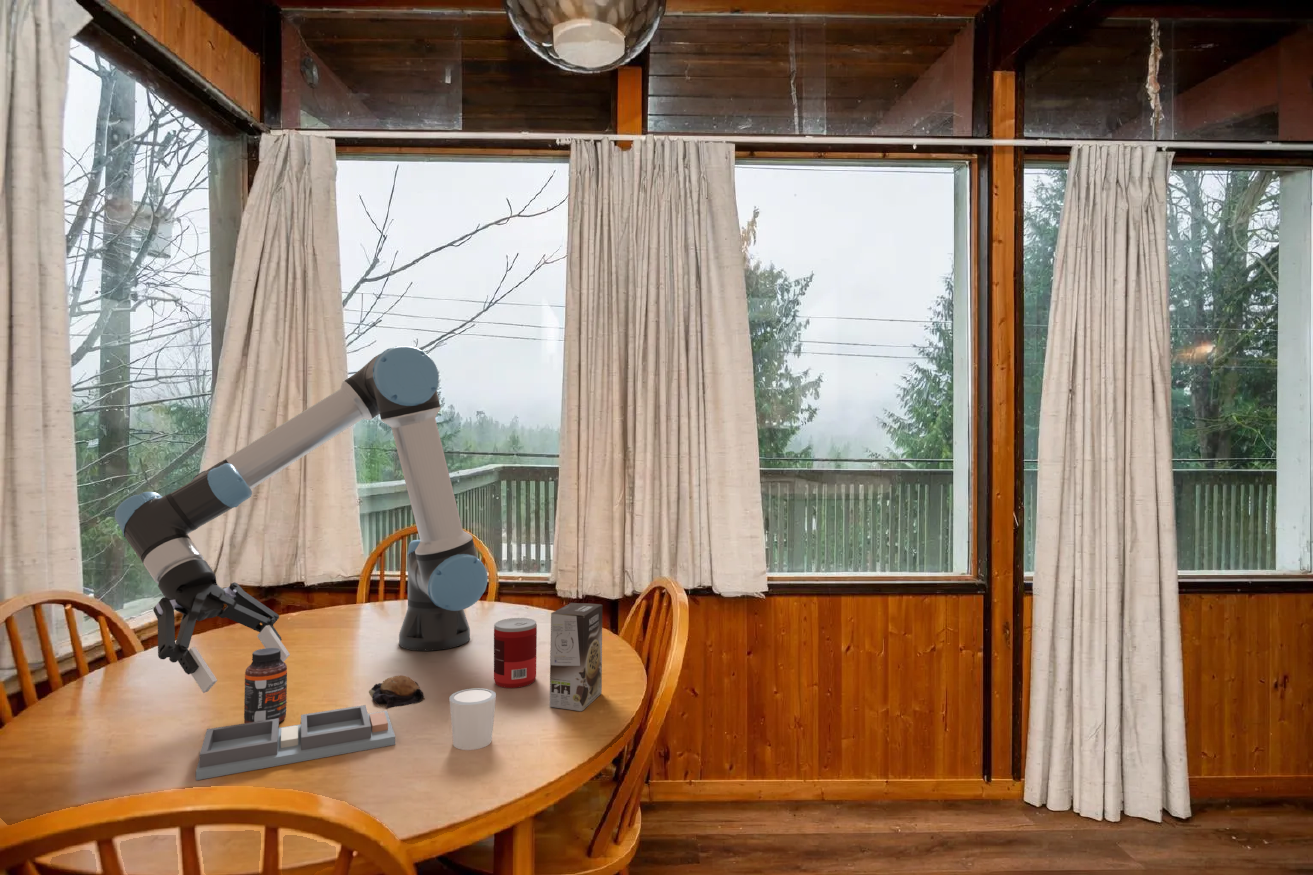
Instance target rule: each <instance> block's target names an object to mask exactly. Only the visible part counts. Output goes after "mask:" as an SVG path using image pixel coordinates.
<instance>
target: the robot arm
mask: <svg viewBox="0 0 1313 875" xmlns="http://www.w3.org/2000/svg"><path fill="white" fill-rule="evenodd" d="M439 378H440V376H439V369H438V366H437V365H436V363H435V361H434V360H433V359H432V357H431V356H430V355H429V354H427V353H426V352H425V351H423V350H422V349H420V348H417V347H413V346H409V345H405V346H404V345H401V346H394V347H390V348H387V349H385V350H383V352H381V353H379V354H378V355H375V357H373V358H372V359H370V360H369V361H368V362H367V363H366V364H365V365H364V366H363V367H362V368H360V369H359V370H358V371H356V372H354V374H352V375H351V376H349V377H347V379H344V380H343V381H342V382H341V386H340V388H339V389H338V390H336V391H335V392H333V393H331V394H329V395H328V396H326V397H324V398H323V399H321V400H320V401H318V402H316V403H314V404H313V405H312V406H310V407H308V408H306V409H305V410H303V411H301V412H300V413H298V414H297V415H295V416H294V417H292V418H290V419H289V420H287V421H285V422H283V423H282V424H280V425H278V426H276V427H275V428H273V429H272V430H270V431H269V432H267V433H265V434H264V435H262V436H260V437H259V438H257V439H256V440H254V441H252V442H250V443H249V444H247V445H246V446H244V447H242V448H241V449H239V450H237V451H236V452H234V453H233V454H231V455H229V456H228V457H226V458H225V459H223V460H221V461H220V462H219V461H218V462H217V463H216V464H214V465H213V466H211V467H210V468H208V469H206V470H204V471H201V472H199V473H197V475H195V476H194V477H193V478H192V480H190V482H188V483H185V484H184V485H182V486H181V487H179V488H177V489H176V490H174V491H172V492H169V493H168V494H165V495H163V496H162V495H161V494H160V493H157V492H155V491H144V492H141V493H139V494H134V495H132V496H129V497H127V498H126V499H125V500H123V501H122V502H121V503H120V504H118V506H117V507H116V509H115V511H114V520H115V522H116V524H117V525H118V527H119V528H120V530H121V534H122V536H123V537H124V538H125V539H126V541H127V542H128V544H129V545H130V547H131V548H132V549H133V550H134V553H135V554H136V555H137V556H138V558H139V559H140V561H141V563H142V564H143V565H144V568H145V569H146V571H147V572H148V573H149V575H150V576H151V578H152V580H153V581H154V582H155V583H156V584H157V587H158V588H159V590H160V592H161V593H162V594H163V597H161V599H160V600H159V601H158V602H157V604H156V605H155V606H154V607H153V609H152V610H153V613H154V615H155V617H156V619H157V656H158V659H160V660H165V659H167V658H168V659H169V661H170V663H177V662H178V664H179V665H180V667H181V668H182V669H183V671H184V673H185V674H187V675H191V676H192V678H193V679H194V681H195V683H196V684H197V685H198V687H199V689H200V690H201V692H202V693H203V694H205V693H207V692H209V691H210V690H211V689H212V687H213V686H214V685H215V684H216V683H217V681H218V679H217V677H216V676H215V674H214V673H213V671H212V669H211V668H210V667H209V666H208V663H207V662H206V661H205V659H204V658H203V656H202V654H201V653H200V652H199V650H198V649H197V647H196V646H194V647H190V645H191V640H192V637H193V633H194V630H195V626H196V623H197V622H200V621H204V620H206V619H212V618H216V617H219V618H222V619H229V620H231V621H233V622H236V623H238V624H239V625H241V626H245V627H247V628H249V629H251V630H253V631H256V632H258V634H257V636H256V637H257V638H258V640H259V641H260V643H261V644H262V645H263V648H279V649H280V650H281V657H280V659H281V660H282V661H283V662H286V660H287V659H288V657H290V655H291V654H290V652H289V651H288V649H287V648H286V646H285V645H284V643H283V642H282V636H281V635H280V633H279V632H278V630H276V628H275V627H274V625H275V624H276V623H277V621H278V620H279V619H280V615H279V614H278V613H276V612H275V611H274V610H272V609H270V608H269V607H268V606H266V605H265V604H264V603H262V602H260V600H258V599H257V598H255V597H253V596H252V595H250V594H249V593H247V592H246V591H245V590H244V589H243V587H241V585H239V584H238V583H237V582H231V584H230V585H229V586H227V587H224V588H223V587H221V586H220V585H218V583H217V575H216V574H215V572H214V570H212V567H211V566H210V565H209V563H208V562H207V561H206V559H205V558H204V556H203V555H202V553H201V552H200V550H199V549H198V548H197V546H196V545H195V543H194V541H192V539H191V537H190V536H189V534H190V533H192V532H193V531H196V530H197V529H198V528H200V527H202V526H204V525H206V524H207V523H209V522H211V521H213V520H215V519H217V518H219V517H220V516H221V515H223V514H225V513H227V512H229V511H230V510H232V509H234V508H237V507H239V506H240V505H241V504H242V503H243V502H245V501H247V500H248V499H250V498H251V497H252V495H253V491H252V489H254V488H256V487H257V486H259V485H260V484H262V483H263V482H266V481H267V480H268V479H270V478H271V477H273V476H274V475H276V474H278V473H279V472H281V471H283V470H284V469H286V468H287V467H289V466H291V465H293V463H295V462H297V461H298V460H300V459H301V458H303V457H305V456H306V455H308V454H310V453H311V452H313V451H315V450H316V449H318V448H319V447H321V446H322V445H324V444H325V443H327V442H329V441H331V439H333V438H335V437H337V436H338V435H340V434H341V433H343V432H345V431H346V430H347V429H349V428H350V427H351V428H352V427H353V426H354V425H356V424H358V422H360V421H362V420H369V421H370V420H372V419H374V418H376V417H377V416H379V417H380V421H381V422H383V423H384V424H386V425H388V426H389V427H390V428H391V431H392V435H393V440H394V443H395V447H396V451H397V454H398V458H399V463H400V467H401V470H402V474H403V478H404V482H405V486H406V490H407V493H408V498H409V502H410V507H411V510H412V514H413V518H414V521H415V526H416V529H417V533H418V538H419V539H413V540H411V541H410V542H409V543H408V547H407V548H408V550H407V553H406V555H407V610H406V613H405V615H404V619H403V620H402V625H401V627H400V630H399V632H398V633H399V634H398V645H399V646H400V647H401V648H403V649H406V650H410V651H411V650H412V651H427V652H428V651H439V650H448V649H452V648H457V647H459V646H462V645H465V644H466V643H468V642H469V641H470V639H471V629H470V626H469V622H468V619H467V616H466V612H465V609H468V608H470V607H472V606H473V605H475V604H476V603H477V602H478V601H479V600H480V599H481V597H482V596H483V594H484V593H485V591H486V589H487V585H488V581H489V580H488V572H487V568H486V566H485V565H484V563H483V562H482V560H481V559H480V558H479V557H478V554H477V550H476V547H475V542H474V538H473V535H472V534H471V533H468V532H467V531H465V530H464V529H463V526H462V522H461V518H460V514H459V510H458V505H457V501H456V497H455V493H454V489H453V485H452V481H451V477H450V473H449V468H448V464H447V461H446V457H445V456H446V455H445V451H444V448H443V444H442V440H441V436H440V432H439V427H438V424H437V421H436V417H437V415H438V413H439V412H440V411H441V403H440V400H439V395H438V392H437V391H438V387H439V381H440V379H439ZM204 559H205V560H204ZM225 605H226V606H225ZM224 607H225V608H224ZM175 611H176V612H178V613H180V614H182V616H181V621H180V623H179V625H180V627H179V630H178V633H177V638H176V630H175V628H176V626H175V622H176V621H175ZM189 648H190V649H189Z"/></svg>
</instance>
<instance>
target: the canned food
mask: <svg viewBox="0 0 1313 875" xmlns="http://www.w3.org/2000/svg"><path fill="white" fill-rule="evenodd" d="M537 625H538V624H537V621H536V620H535V619H532V618H527V617H511V618H505V619H504V618H503V619H501V620H498V621H496V622H495V623H494V625H493V626H494V627H493V680H494V684H495V685H496V686H498V687H500V688H504V689H505V688H506V689H517V688H523V687H527V686H530V685H532V684H533V683H534V682H535V681H536V677H537V646H538V645H537V642H538V641H537V640H538V639H537V638H538V637H537V636H538V633H537V632H538V629H537V627H538V626H537Z"/></svg>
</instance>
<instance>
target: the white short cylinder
mask: <svg viewBox="0 0 1313 875" xmlns="http://www.w3.org/2000/svg"><path fill="white" fill-rule="evenodd" d="M496 694H497V693H496V691H494V690H492V689H489V688H488V689H487V688H481V687H480V688H478V687H475V688H467V689H466V688H465V689H462V690H458V691H456V692H453V693H452V694H451V695H450V696H449V710H450V712H449V713H450V722H451V733H452V734H451V735H452V745H453V747H454V748H455V749H459V750H461V751H475V750H479V749H483V748H485V747H487V746H490V744H491V743H492V740H493V732H494V730H493V729H494V721H495V720H494V718H495V708H496V701H497V700H496V698H497V695H496Z"/></svg>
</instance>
